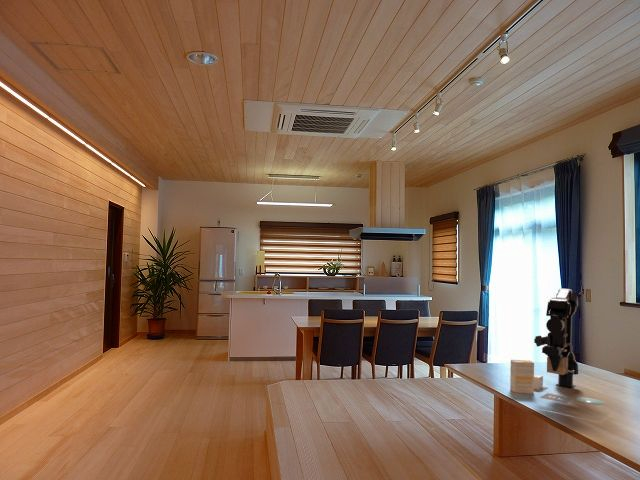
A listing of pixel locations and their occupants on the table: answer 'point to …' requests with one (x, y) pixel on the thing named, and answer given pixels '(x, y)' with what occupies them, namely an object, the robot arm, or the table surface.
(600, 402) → the pale green disc
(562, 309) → the robot arm
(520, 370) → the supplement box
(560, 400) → the tile
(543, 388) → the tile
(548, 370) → the walnut block
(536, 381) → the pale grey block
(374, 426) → the table surface
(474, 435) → the table surface
